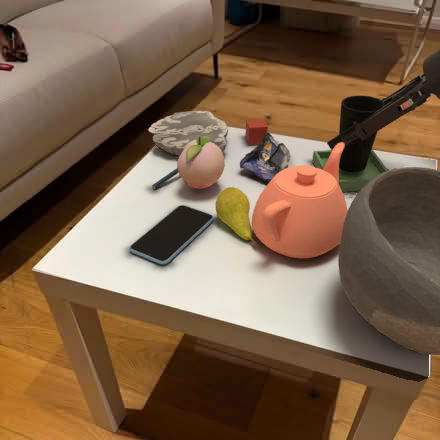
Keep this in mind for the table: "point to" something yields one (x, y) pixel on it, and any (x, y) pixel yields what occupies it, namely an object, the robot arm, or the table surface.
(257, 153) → the snack package
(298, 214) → the teapot
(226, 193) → the fruit
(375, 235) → the bowl
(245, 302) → the table surface
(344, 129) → the cup
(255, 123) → the red block
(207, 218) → the smartphone
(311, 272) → the table surface
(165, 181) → the pencil
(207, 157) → the decorative fruit
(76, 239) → the table surface
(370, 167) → the green tray
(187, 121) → the brain slice
